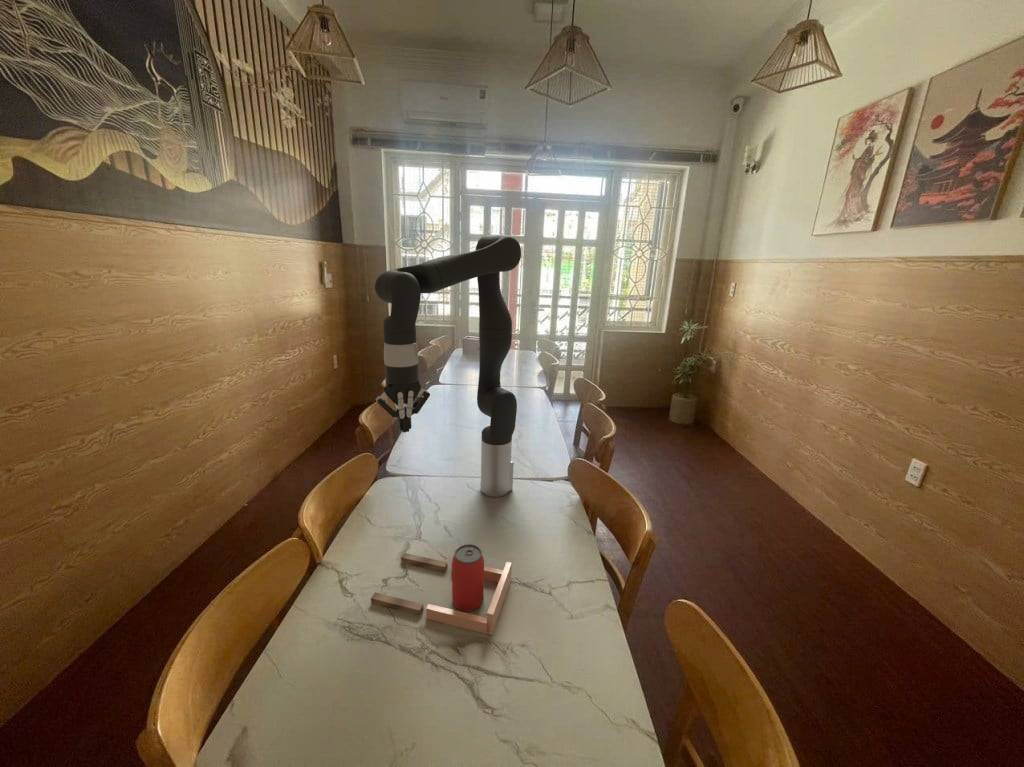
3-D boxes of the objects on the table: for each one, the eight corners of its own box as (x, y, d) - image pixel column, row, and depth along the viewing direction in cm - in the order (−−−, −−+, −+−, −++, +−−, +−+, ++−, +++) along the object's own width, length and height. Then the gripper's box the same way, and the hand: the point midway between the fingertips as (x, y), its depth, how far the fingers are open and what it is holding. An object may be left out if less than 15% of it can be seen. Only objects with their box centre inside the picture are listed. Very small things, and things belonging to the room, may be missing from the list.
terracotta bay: (426, 618, 82) (425, 598, 80) (453, 568, 95) (453, 550, 94) (492, 635, 79) (493, 614, 77) (510, 581, 92) (511, 562, 91)
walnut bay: (371, 604, 85) (370, 598, 84) (404, 558, 98) (404, 552, 98) (419, 616, 82) (419, 610, 82) (447, 567, 96) (447, 562, 95)
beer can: (488, 594, 88) (490, 547, 85) (474, 617, 83) (474, 568, 79) (462, 584, 91) (462, 538, 87) (446, 606, 85) (445, 558, 81)
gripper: (375, 368, 88) (381, 442, 93) (434, 362, 94) (436, 431, 99) (367, 360, 94) (373, 430, 99) (423, 355, 100) (426, 421, 105)
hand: (405, 430), depth 99 cm, fingers closed
